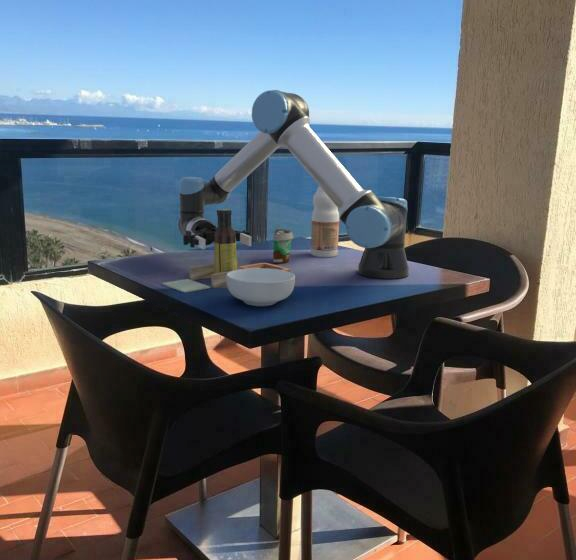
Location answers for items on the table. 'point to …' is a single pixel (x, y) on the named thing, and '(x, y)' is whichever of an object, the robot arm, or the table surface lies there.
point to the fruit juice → (324, 226)
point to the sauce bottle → (224, 243)
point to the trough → (210, 274)
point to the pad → (186, 285)
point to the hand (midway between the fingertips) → (227, 242)
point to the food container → (282, 246)
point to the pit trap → (265, 266)
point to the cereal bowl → (260, 285)
